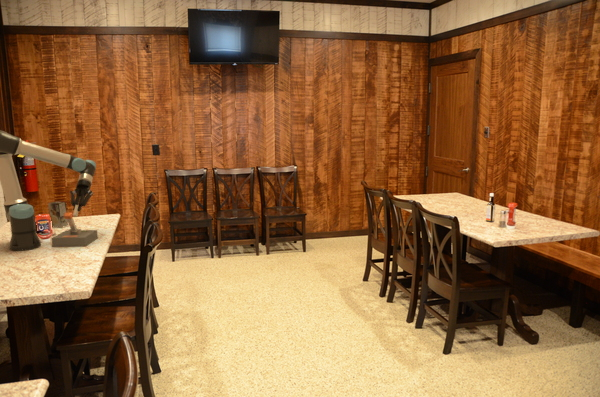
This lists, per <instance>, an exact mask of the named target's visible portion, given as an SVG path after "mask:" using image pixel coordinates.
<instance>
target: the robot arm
mask: <svg viewBox="0 0 600 397" xmlns="http://www.w3.org/2000/svg"><path fill="white" fill-rule="evenodd" d="M16 155H20V156H24V157H27V158H31V159H34V160H37V161H41V162H44V163H49V164H51V165H54V166H55V165H56V166H59V167H63V168H66V169H69V170H72V171H74V172H76V173H78V174H79V176H78V180H77V183H76V188H74V190H73V191H72V190H71V191H70V192H69V193H70V200H71V201H70V204H71V205H72V207H73V208H72V210H73V212H72V214H73V217H74V218H77V217H78V216H79V212H81V209H82V207H86V206H87V204H88V202H89V200H90V199H91V197H92V196H94V193H93V191H92V190H91V187H92V182H93V180H94V176H95V173H96V171H97V163H96V162H95V161H94V160H92V159H85V160H84V159H83V158H80V157H77V156H74V155H71V154H68V153H64V152H60V151H57V150H55V149H51V148H48V147H45V146H44V147H43V146H41V145H38V144H34V143H33V142H29V141H28V142H27V141H26V140H22V139H21V137H18V136H15V135H13V134H10V133H8V132H6V131H4V130H2V129H0V185H1V189H2V192H3V196H4V199H5V201H4V203H3V207H4V211H5V218H6V219H7V221H8V222H9V223H10V230H11V231H10V232H11V236H10V240H9V246H8V248H9V250H10V251H13V252H14V251H15V252H19V251H20V252H22V251H28V250H33V249H37V248H40V247H41V246H42V244H41V243H42V242H41V239H40V237H39V236H38V234H37V233H38V232H36V228H35V218H34V217H35V210H34V206H33V205H31V204H29V202H28V199H27V198H25V197H24V196H23V193H22V189H21V185H20V181H19V178H18V174H17V171H16V167H15V164H14V161H13V157H12V156H16Z"/></svg>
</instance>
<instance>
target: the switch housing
mask: <svg viewBox="0 0 600 397" xmlns="http://www.w3.org/2000/svg"><path fill="white" fill-rule="evenodd" d="M77 229H78V233H71V228H70V229H67V230H64V231H63V232H61V233H59V234H57V235H55V236H53V237H51V244H52V245H51V246H52V248H61V247H62V248H63V247H64V248H65V247H67V248H69V247H87V246H88V245H90V244H91V243H92V242H94V241H95V240H97V239H99V238H98V229H81V228H77Z"/></svg>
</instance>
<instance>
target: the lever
mask: <svg viewBox="0 0 600 397" xmlns="http://www.w3.org/2000/svg"><path fill="white" fill-rule="evenodd" d="M73 217H74V215H73V212H72V211H71V212H69V211H67V212H65V214H64V218H65V219H67V221H68V226H69V228H70V229H71V233H78V229H79V228H77V224H76V223H75V220H74V218H73Z"/></svg>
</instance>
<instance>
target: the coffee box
mask: <svg viewBox="0 0 600 397" xmlns="http://www.w3.org/2000/svg"><path fill="white" fill-rule="evenodd" d="M48 211H49V212H48V213H49V218H50V217H51V221H52V226H54V227H53V228H64V227H63V226H65V227H68V226H69V223H68V221H67V219H65V218H64V214H65V212H68V211H67V202H66V201H51V202H48ZM67 225H68V226H67Z"/></svg>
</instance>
